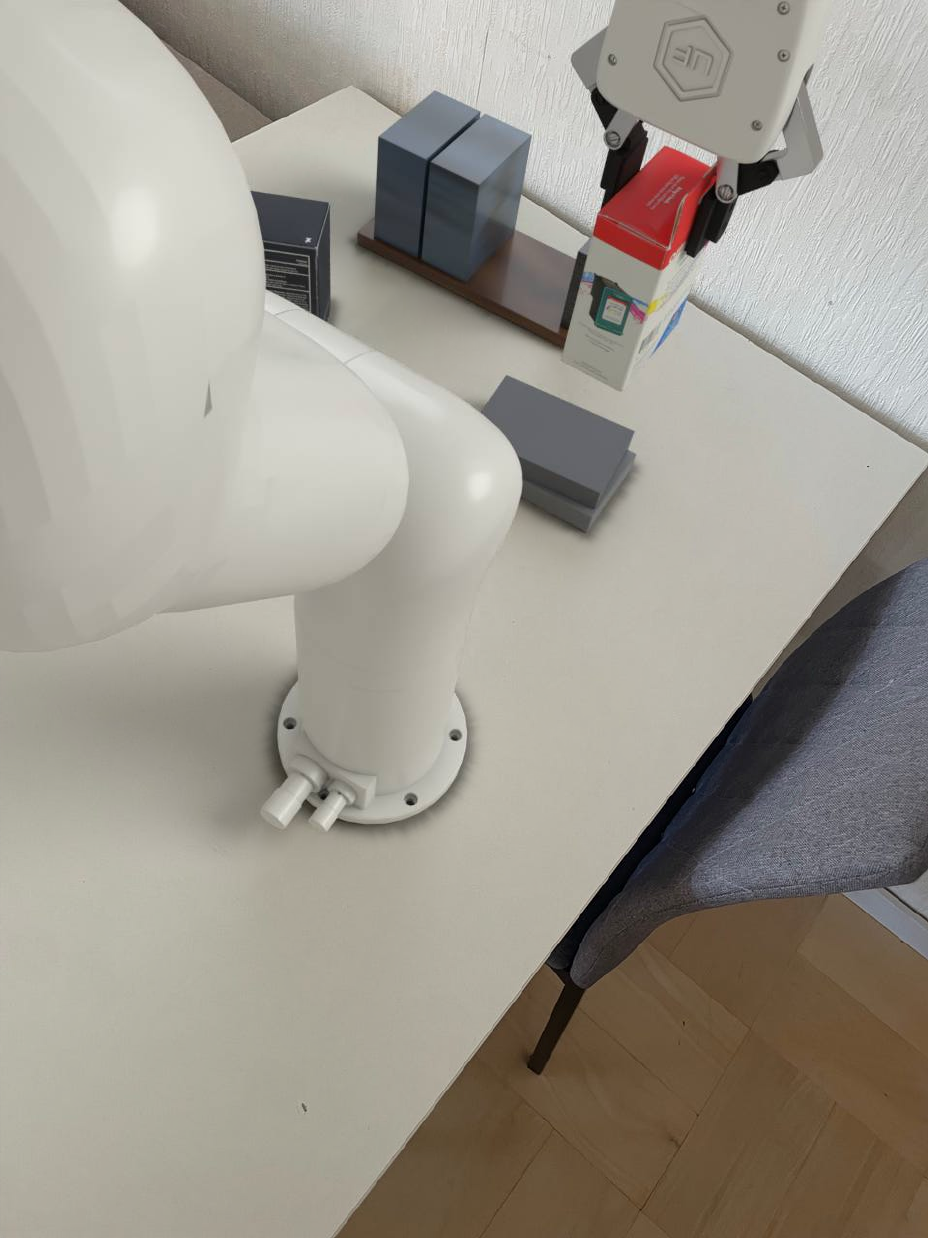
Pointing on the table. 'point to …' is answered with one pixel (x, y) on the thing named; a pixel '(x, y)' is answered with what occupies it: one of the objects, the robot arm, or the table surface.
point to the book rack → (468, 215)
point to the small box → (296, 249)
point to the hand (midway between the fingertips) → (658, 220)
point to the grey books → (561, 451)
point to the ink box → (638, 269)
